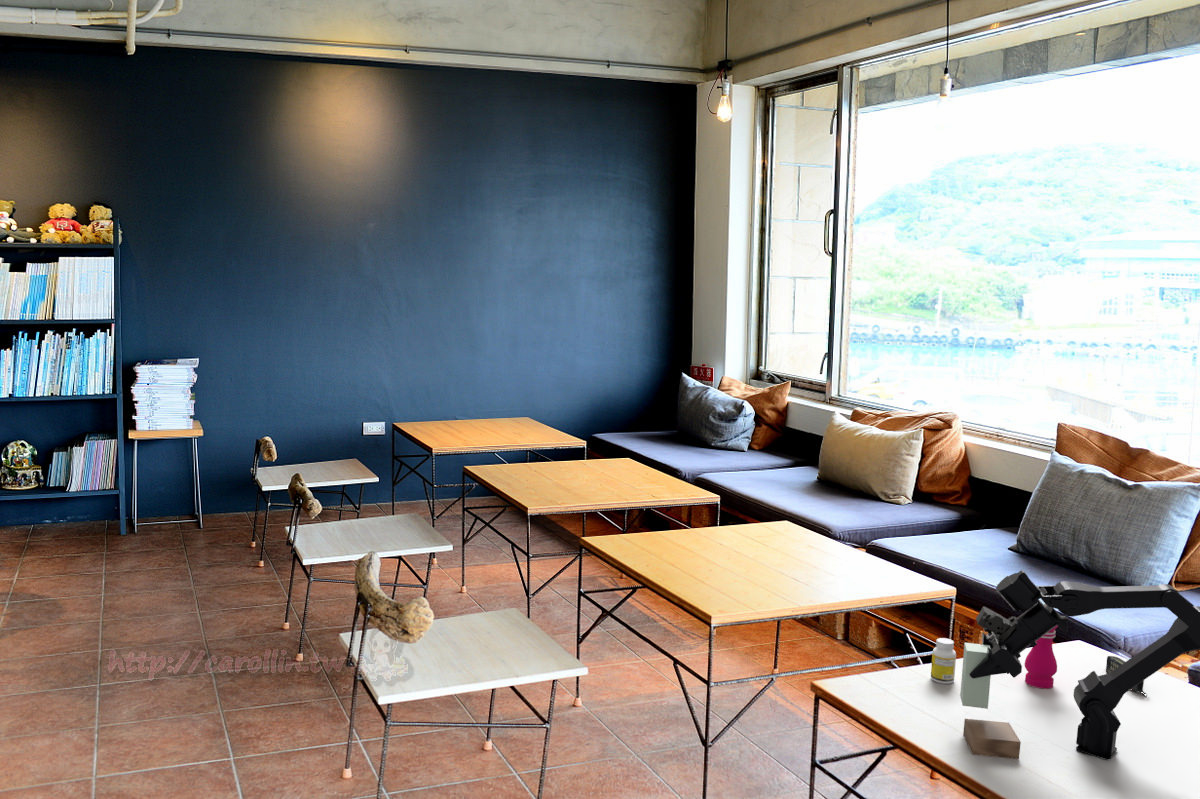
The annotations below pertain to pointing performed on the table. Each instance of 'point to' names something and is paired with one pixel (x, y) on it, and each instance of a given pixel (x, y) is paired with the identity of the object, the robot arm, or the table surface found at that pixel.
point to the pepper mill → (1041, 662)
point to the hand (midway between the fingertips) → (969, 671)
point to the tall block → (974, 688)
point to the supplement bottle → (943, 661)
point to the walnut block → (991, 738)
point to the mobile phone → (1115, 663)
